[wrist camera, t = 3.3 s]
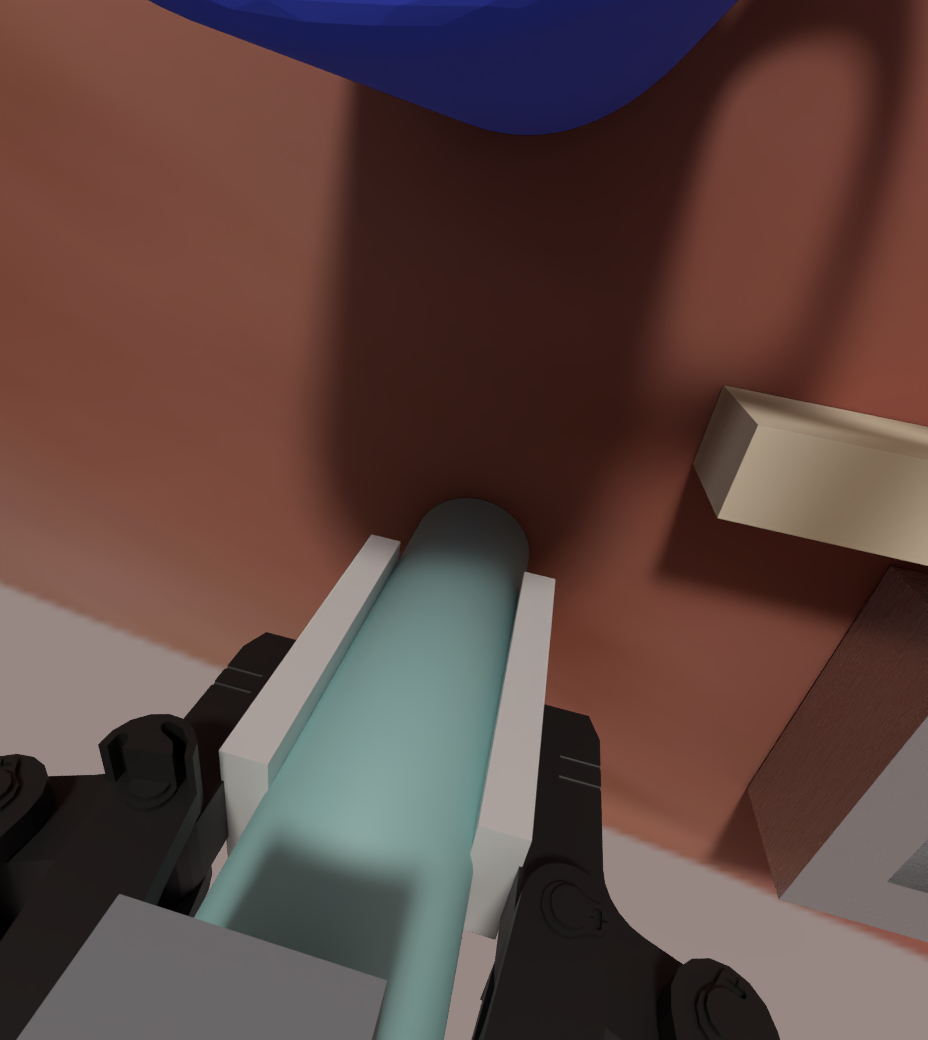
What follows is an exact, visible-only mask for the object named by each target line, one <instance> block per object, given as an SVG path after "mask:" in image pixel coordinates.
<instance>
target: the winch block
mask: <svg viewBox="0 0 928 1040" xmlns="http://www.w3.org/2000/svg"><path fill="white" fill-rule="evenodd" d="M747 790H748V794H749V797H750V801H751V804H752V808H753V811H754V815H755V818H756V821H757V825H758V828H759V832H760V835H761V839H762V842H763V846H764V849H765V853H766V856H767V860H768V863H769V867H770V870H771V874H772V877H773V881H774V884H775V888H776V891H777V895H778V898H779V900H783V901H786V902H790V903H793V904H797V905H800V906H804V907H807V908H811V909H814V910H818V911H821V912H825V913H828V914H832V915H835V916H839V917H842V918H846V919H849V920H852V921H856V922H859V923H863V924H866V925H870V926H873V927H877V928H880V929H884V930H887V931H891V932H894V933H898V934H901V935H905V936H908V937H912V938H915V939H919V940H922V941H926V942H928V574H925V573H921V572H917V571H912V570H908V569H904V568H899V567H895V566H890V567H889V569H888V571H887V572H886V574H885V575H884V577H883V578H882V580H881V581H880V583H879V584H878V586H877V588H876V589H875V591H874V592H873V594H872V595H871V597H870V598H869V600H868V602H867V603H866V605H865V606H864V608H863V609H862V611H861V612H860V614H859V616H858V617H857V619H856V620H855V622H854V623H853V625H852V626H851V628H850V630H849V631H848V633H847V634H846V636H845V637H844V639H843V640H842V642H841V643H840V645H839V647H838V648H837V650H836V651H835V653H834V654H833V656H832V657H831V659H830V661H829V662H828V664H827V665H826V667H825V668H824V670H823V671H822V673H821V675H820V676H819V678H818V679H817V681H816V682H815V684H814V685H813V687H812V689H811V690H810V692H809V693H808V695H807V696H806V698H805V699H804V701H803V702H802V704H801V706H800V707H799V709H798V710H797V712H796V713H795V715H794V716H793V718H792V720H791V721H790V723H789V724H788V726H787V727H786V729H785V730H784V732H783V734H782V735H781V737H780V738H779V740H778V741H777V743H776V744H775V746H774V748H773V749H772V751H771V752H770V754H769V755H768V757H767V758H766V760H765V761H764V763H763V765H762V766H761V768H760V769H759V771H758V772H757V774H756V775H755V777H754V779H753V780H752V782H751V783H750V785H749V786H748V788H747Z"/></svg>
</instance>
